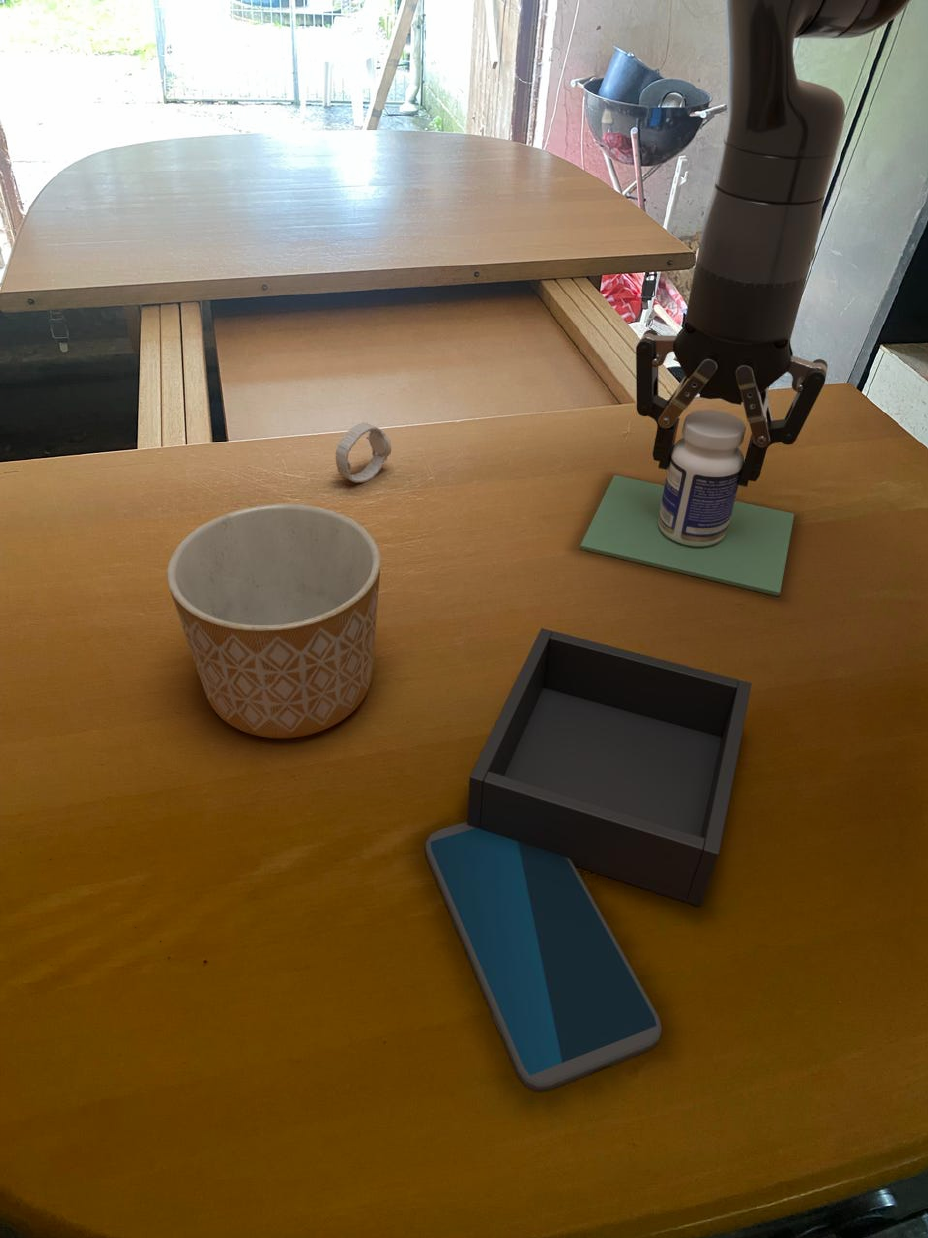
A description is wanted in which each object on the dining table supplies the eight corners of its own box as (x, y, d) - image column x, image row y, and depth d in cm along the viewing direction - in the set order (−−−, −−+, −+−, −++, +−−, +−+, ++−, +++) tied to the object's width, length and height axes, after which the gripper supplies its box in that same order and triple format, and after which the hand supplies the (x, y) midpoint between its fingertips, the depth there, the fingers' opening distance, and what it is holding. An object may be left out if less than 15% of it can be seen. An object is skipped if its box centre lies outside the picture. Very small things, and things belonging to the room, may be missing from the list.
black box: (734, 735, 60) (752, 682, 57) (700, 907, 50) (718, 854, 47) (535, 680, 63) (541, 627, 60) (466, 830, 53) (469, 776, 50)
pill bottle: (736, 525, 78) (764, 419, 71) (709, 557, 74) (737, 448, 68) (673, 503, 80) (695, 398, 74) (645, 533, 77) (665, 425, 70)
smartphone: (538, 809, 55) (540, 799, 55) (668, 1045, 44) (672, 1036, 44) (419, 845, 53) (419, 835, 52) (526, 1102, 42) (527, 1094, 42)
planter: (227, 783, 55) (201, 655, 49) (172, 656, 64) (143, 532, 57) (416, 715, 60) (415, 590, 54) (341, 605, 69) (333, 485, 62)
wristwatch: (393, 472, 83) (392, 423, 80) (353, 494, 80) (350, 443, 77) (371, 461, 85) (369, 412, 82) (330, 482, 82) (327, 431, 79)
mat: (793, 517, 80) (794, 513, 80) (779, 596, 71) (780, 592, 71) (613, 478, 84) (614, 474, 84) (579, 549, 75) (580, 545, 75)
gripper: (638, 260, 62) (605, 476, 73) (860, 294, 58) (791, 516, 69) (660, 228, 67) (626, 434, 78) (864, 258, 64) (800, 469, 75)
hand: (704, 472), depth 74 cm, fingers closed on pill bottle, 5 cm apart
